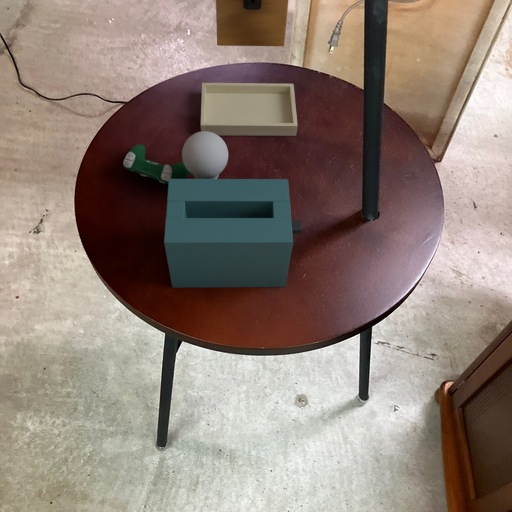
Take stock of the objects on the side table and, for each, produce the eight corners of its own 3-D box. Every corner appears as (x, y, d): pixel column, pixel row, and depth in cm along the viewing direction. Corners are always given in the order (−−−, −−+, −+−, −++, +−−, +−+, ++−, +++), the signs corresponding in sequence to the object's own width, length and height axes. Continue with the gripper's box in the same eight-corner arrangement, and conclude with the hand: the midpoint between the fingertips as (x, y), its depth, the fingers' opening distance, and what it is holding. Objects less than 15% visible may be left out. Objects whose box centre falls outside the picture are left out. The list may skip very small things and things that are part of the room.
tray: (201, 135, 82) (200, 125, 80) (202, 93, 87) (202, 82, 85) (296, 136, 83) (297, 125, 81) (292, 94, 87) (293, 83, 86)
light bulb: (236, 195, 76) (237, 144, 68) (198, 213, 74) (194, 162, 66) (215, 167, 79) (213, 115, 70) (178, 184, 77) (171, 131, 68)
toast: (217, 45, 73) (215, -23, 65) (217, 39, 74) (215, -30, 66) (284, 46, 74) (290, -22, 66) (283, 40, 75) (289, -28, 67)
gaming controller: (133, 168, 80) (112, 169, 74) (139, 142, 79) (119, 142, 74) (190, 188, 79) (174, 190, 73) (197, 162, 78) (181, 163, 72)
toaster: (172, 287, 68) (164, 242, 59) (175, 228, 73) (168, 178, 64) (298, 287, 69) (307, 242, 60) (293, 228, 73) (301, 179, 65)
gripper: (220, -187, 58) (222, -28, 73) (219, -127, 51) (221, 37, 65) (290, -185, 58) (278, -26, 73) (300, -125, 51) (284, 38, 66)
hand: (251, 3), depth 69 cm, fingers closed on toast, 1 cm apart
